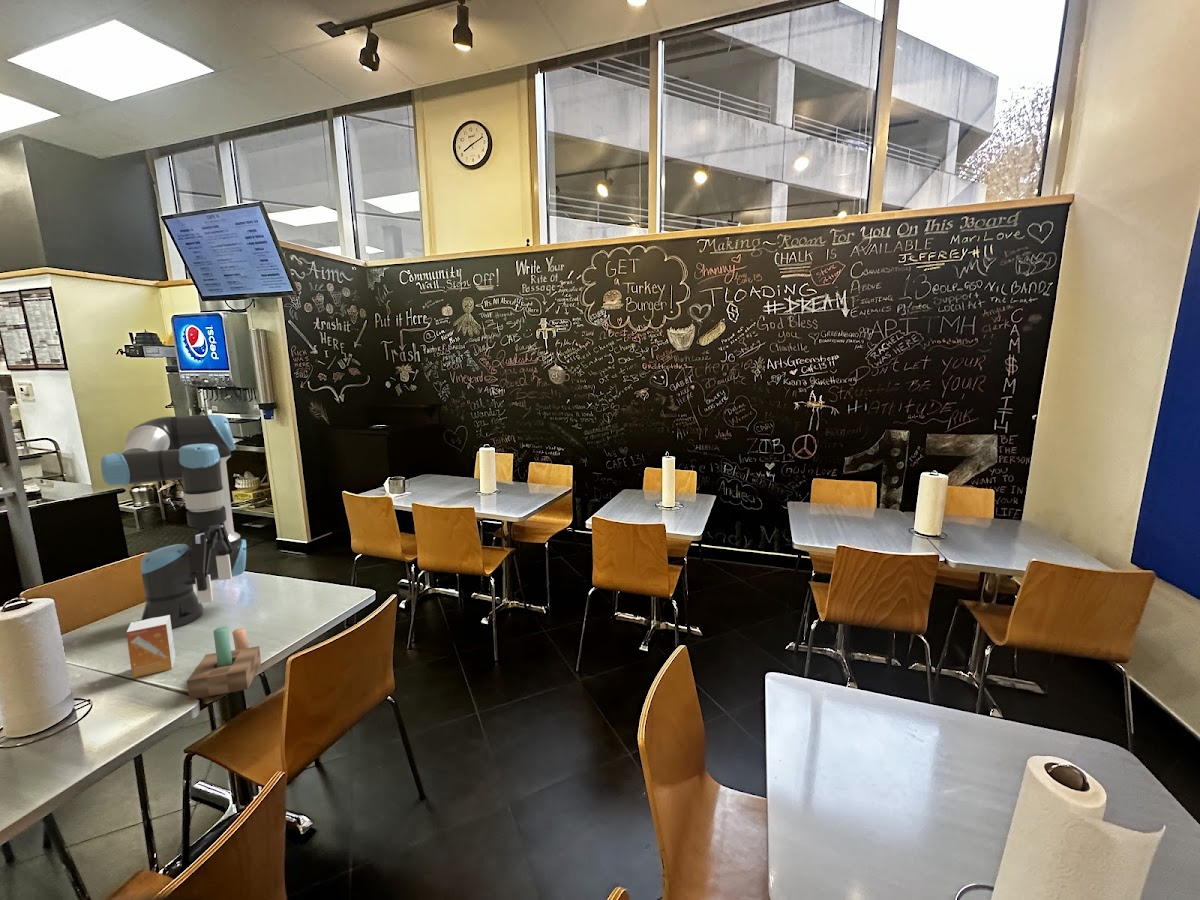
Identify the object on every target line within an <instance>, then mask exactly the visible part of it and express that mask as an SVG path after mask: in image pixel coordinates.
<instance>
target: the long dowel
mask: <svg viewBox="0 0 1200 900" xmlns="http://www.w3.org/2000/svg"><path fill="white" fill-rule="evenodd" d="M229 633H230V632H229V627H228V626H221V627H218V628H215V629H214V630H213V639H214V646H215V647H214V648H215V653H216V656H217V664H218V667H224V666H230V665H232V655H231V651H232V649H231V641H230V634H229Z"/></svg>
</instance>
